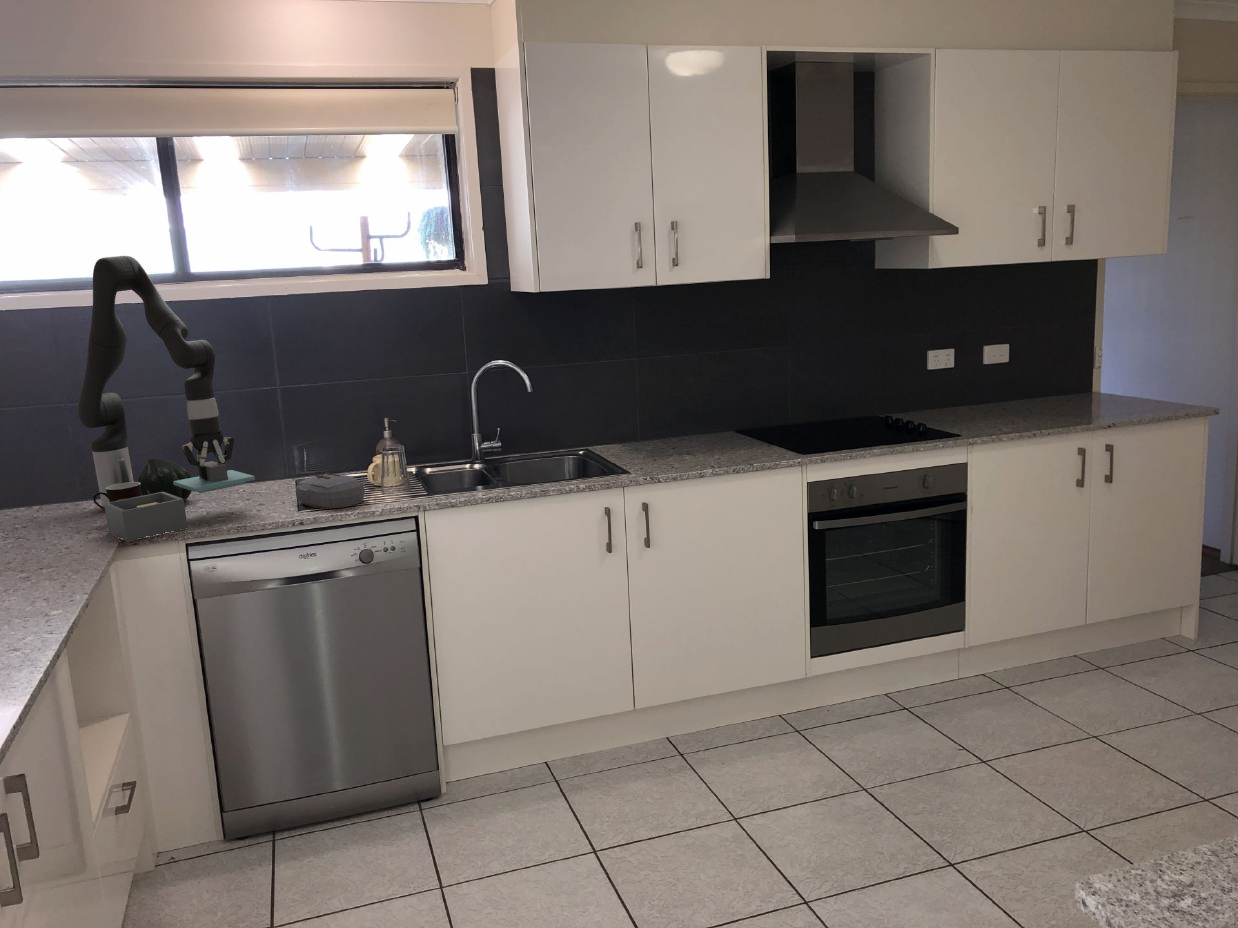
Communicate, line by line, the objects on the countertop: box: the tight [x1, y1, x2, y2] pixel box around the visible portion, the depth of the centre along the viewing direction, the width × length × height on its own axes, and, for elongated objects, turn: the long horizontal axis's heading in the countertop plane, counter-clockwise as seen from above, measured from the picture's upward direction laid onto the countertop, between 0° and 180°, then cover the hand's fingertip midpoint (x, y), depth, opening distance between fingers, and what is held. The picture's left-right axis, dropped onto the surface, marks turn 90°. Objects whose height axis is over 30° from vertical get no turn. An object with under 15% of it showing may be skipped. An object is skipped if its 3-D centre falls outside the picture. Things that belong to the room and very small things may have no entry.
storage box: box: [104, 492, 189, 543], centre depth 258 cm, size 15×15×8 cm
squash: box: [137, 457, 193, 501], centre depth 287 cm, size 14×15×15 cm
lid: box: [173, 460, 256, 494], centre depth 268 cm, size 16×16×6 cm
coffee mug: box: [92, 481, 141, 511], centre depth 271 cm, size 12×9×10 cm
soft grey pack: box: [295, 472, 366, 510], centre depth 275 cm, size 15×8×20 cm
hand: (213, 477), depth 269 cm, fingers closed on lid, 4 cm apart
